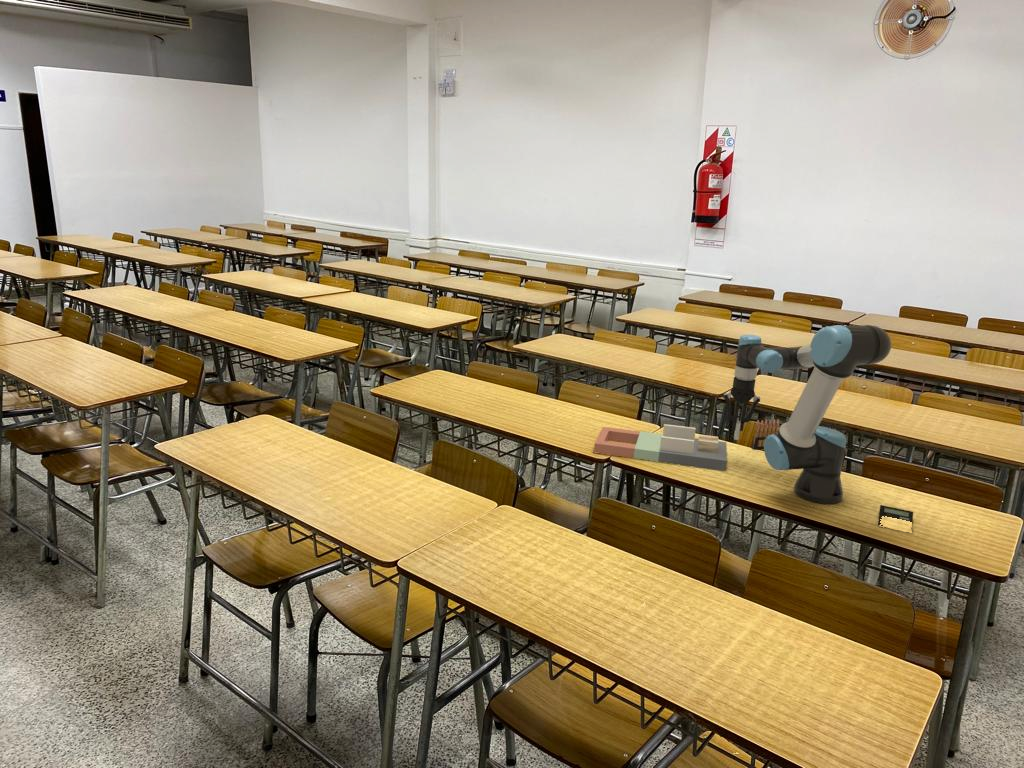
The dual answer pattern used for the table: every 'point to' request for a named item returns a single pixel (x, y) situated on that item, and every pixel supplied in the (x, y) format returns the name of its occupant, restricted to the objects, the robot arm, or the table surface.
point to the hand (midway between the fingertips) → (736, 438)
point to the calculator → (895, 513)
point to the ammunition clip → (763, 433)
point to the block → (708, 443)
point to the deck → (661, 447)
